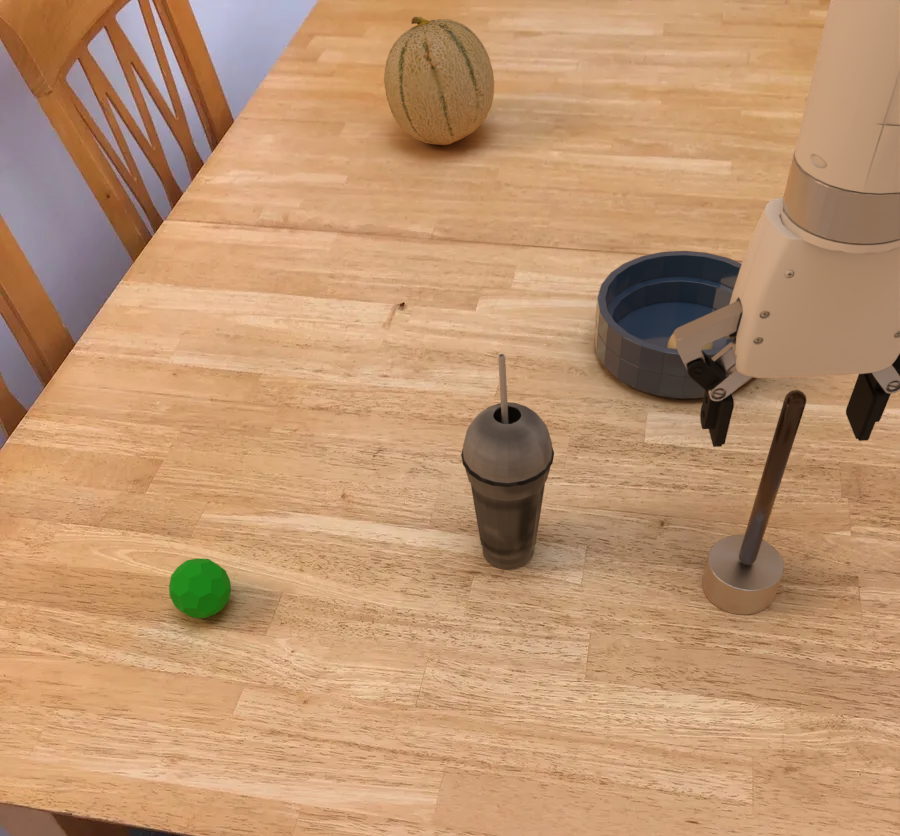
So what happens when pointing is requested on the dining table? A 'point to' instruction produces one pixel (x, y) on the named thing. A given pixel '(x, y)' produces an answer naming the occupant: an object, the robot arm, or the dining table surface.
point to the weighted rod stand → (755, 532)
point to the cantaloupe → (439, 81)
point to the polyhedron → (199, 588)
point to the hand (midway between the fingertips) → (784, 430)
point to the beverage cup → (507, 477)
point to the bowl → (659, 317)
